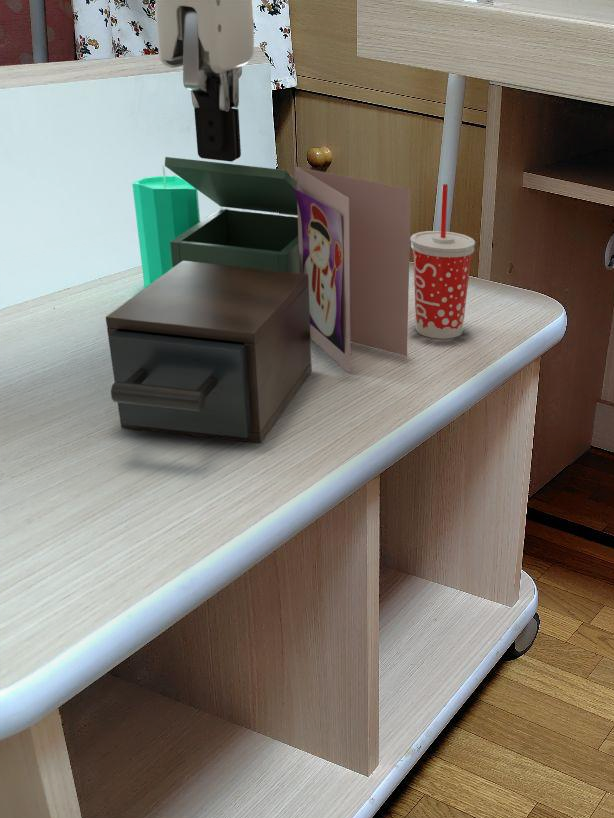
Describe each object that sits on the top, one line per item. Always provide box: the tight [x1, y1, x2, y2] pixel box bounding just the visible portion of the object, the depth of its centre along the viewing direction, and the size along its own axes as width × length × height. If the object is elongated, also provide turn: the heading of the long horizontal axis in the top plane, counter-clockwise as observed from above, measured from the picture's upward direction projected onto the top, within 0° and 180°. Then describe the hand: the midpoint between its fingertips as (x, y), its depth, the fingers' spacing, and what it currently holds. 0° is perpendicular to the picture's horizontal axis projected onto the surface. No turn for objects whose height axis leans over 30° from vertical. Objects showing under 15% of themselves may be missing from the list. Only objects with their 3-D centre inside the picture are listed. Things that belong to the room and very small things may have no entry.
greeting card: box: [292, 166, 412, 374], centre depth 88 cm, size 11×7×15 cm, turn 33°
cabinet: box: [105, 261, 312, 444], centre depth 78 cm, size 15×11×9 cm
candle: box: [131, 165, 201, 289], centre depth 99 cm, size 6×6×12 cm
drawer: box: [107, 331, 252, 438], centre depth 75 cm, size 18×9×7 cm, turn 176°
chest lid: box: [164, 156, 298, 216], centre depth 93 cm, size 14×11×1 cm
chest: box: [170, 207, 300, 274], centre depth 97 cm, size 14×11×8 cm
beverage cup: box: [410, 183, 476, 340], centre depth 94 cm, size 6×6×14 cm
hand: (219, 157), depth 85 cm, fingers closed
